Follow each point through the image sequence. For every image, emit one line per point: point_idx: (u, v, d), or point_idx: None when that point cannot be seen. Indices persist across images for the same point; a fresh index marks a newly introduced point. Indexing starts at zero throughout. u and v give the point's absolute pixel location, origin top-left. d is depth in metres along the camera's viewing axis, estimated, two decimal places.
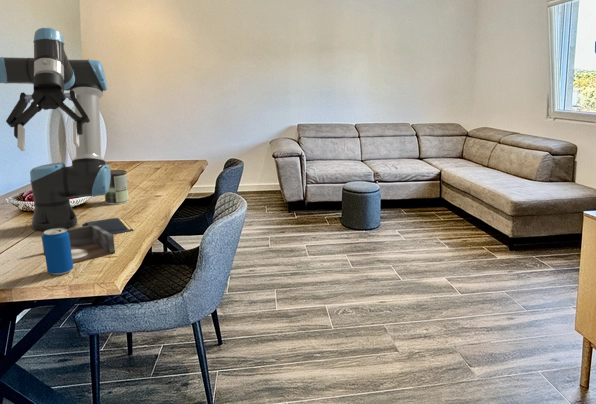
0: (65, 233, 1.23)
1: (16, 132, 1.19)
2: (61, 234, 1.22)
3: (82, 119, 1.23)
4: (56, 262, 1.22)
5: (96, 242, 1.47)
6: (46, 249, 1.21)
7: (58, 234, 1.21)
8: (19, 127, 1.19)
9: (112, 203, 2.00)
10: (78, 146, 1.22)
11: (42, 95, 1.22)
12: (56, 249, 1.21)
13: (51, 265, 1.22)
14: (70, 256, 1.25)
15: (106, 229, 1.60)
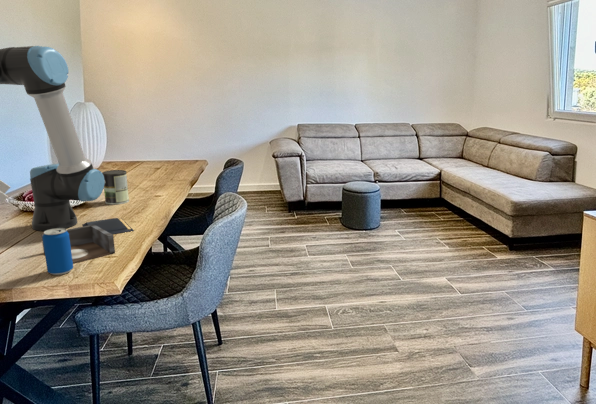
0: (65, 233, 1.23)
1: None
2: (61, 234, 1.22)
3: None
4: (56, 262, 1.22)
5: (96, 242, 1.47)
6: (46, 249, 1.21)
7: (58, 234, 1.21)
8: None
9: (112, 203, 2.00)
10: None
11: None
12: (56, 249, 1.21)
13: (51, 265, 1.22)
14: (70, 256, 1.25)
15: (106, 229, 1.60)
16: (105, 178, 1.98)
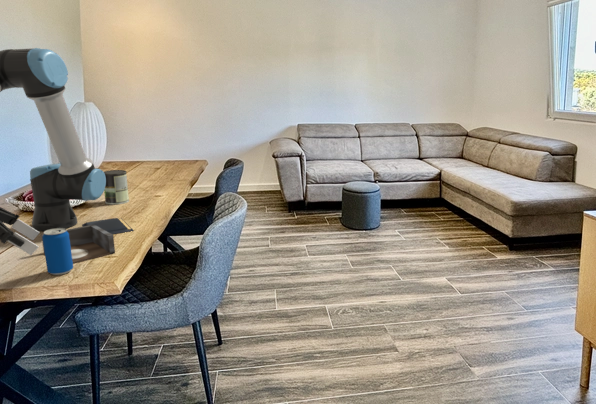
0: (65, 233, 1.23)
1: None
2: (61, 234, 1.22)
3: None
4: (56, 262, 1.22)
5: (96, 242, 1.47)
6: (46, 249, 1.21)
7: (58, 234, 1.21)
8: None
9: (112, 203, 2.00)
10: None
11: None
12: (56, 249, 1.21)
13: (51, 265, 1.22)
14: (70, 256, 1.25)
15: (106, 229, 1.60)
16: None
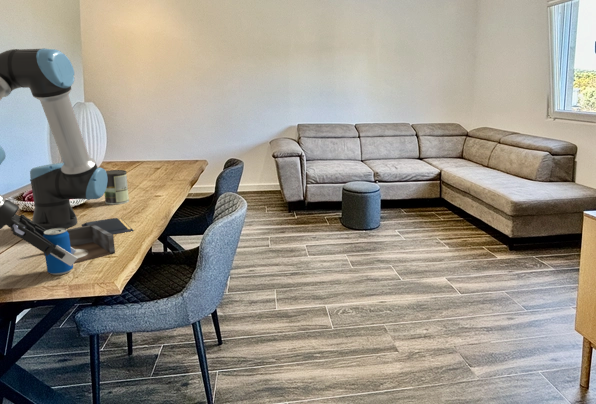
0: (65, 233, 1.23)
1: None
2: (61, 234, 1.22)
3: None
4: (56, 262, 1.22)
5: (96, 242, 1.47)
6: None
7: (58, 234, 1.21)
8: None
9: (112, 203, 2.00)
10: (77, 258, 1.24)
11: None
12: None
13: (51, 265, 1.22)
14: None
15: (106, 229, 1.60)
16: None
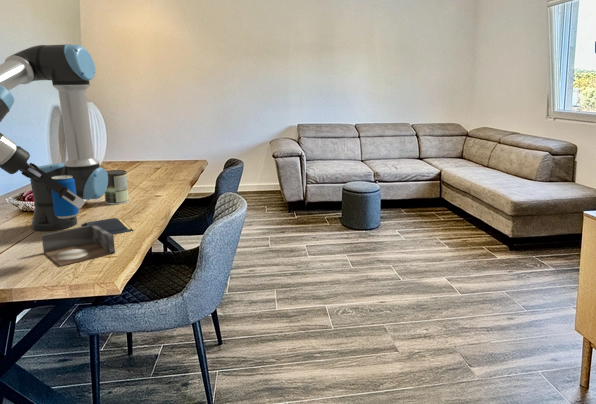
0: (72, 178, 1.32)
1: None
2: (70, 179, 1.31)
3: None
4: (66, 206, 1.31)
5: (96, 242, 1.47)
6: (56, 193, 1.29)
7: (67, 179, 1.30)
8: None
9: (112, 203, 2.00)
10: None
11: (23, 174, 1.25)
12: None
13: (61, 208, 1.31)
14: None
15: (106, 229, 1.60)
16: None
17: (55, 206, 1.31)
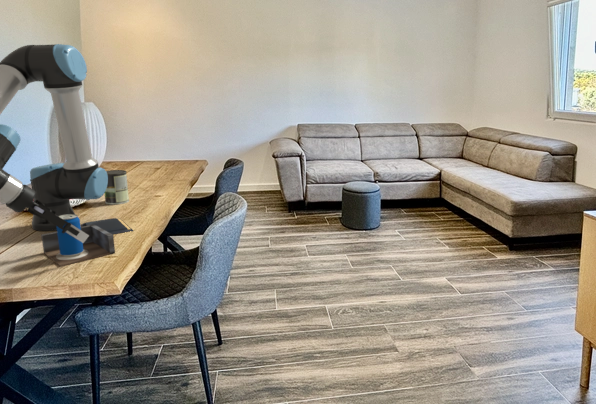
0: (77, 217, 1.35)
1: None
2: (75, 218, 1.34)
3: None
4: (71, 245, 1.34)
5: (96, 242, 1.47)
6: (61, 233, 1.32)
7: (72, 218, 1.33)
8: None
9: (112, 203, 2.00)
10: (88, 236, 1.33)
11: None
12: None
13: (67, 247, 1.33)
14: None
15: (106, 229, 1.60)
16: None
17: (60, 245, 1.34)
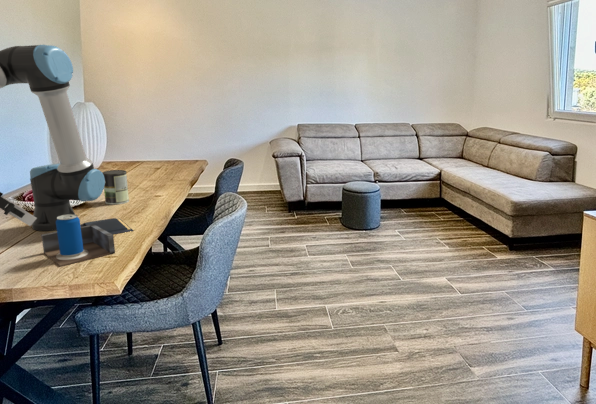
0: (77, 218, 1.35)
1: None
2: (75, 218, 1.34)
3: None
4: (71, 245, 1.34)
5: (96, 242, 1.47)
6: (61, 233, 1.32)
7: (72, 219, 1.33)
8: None
9: (112, 203, 2.00)
10: (36, 218, 1.22)
11: None
12: (71, 232, 1.33)
13: (67, 247, 1.33)
14: (81, 239, 1.37)
15: (105, 229, 1.60)
16: (105, 178, 1.98)
17: (60, 245, 1.34)
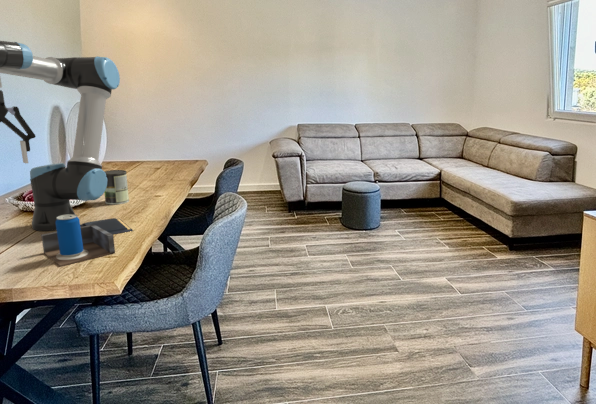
0: (77, 218, 1.35)
1: None
2: (74, 218, 1.34)
3: (29, 138, 1.32)
4: (71, 245, 1.34)
5: (96, 242, 1.47)
6: (61, 233, 1.32)
7: (72, 218, 1.33)
8: None
9: (112, 203, 2.00)
10: None
11: None
12: (71, 232, 1.33)
13: (67, 247, 1.33)
14: (81, 239, 1.37)
15: (105, 229, 1.60)
16: None
17: (60, 245, 1.34)
